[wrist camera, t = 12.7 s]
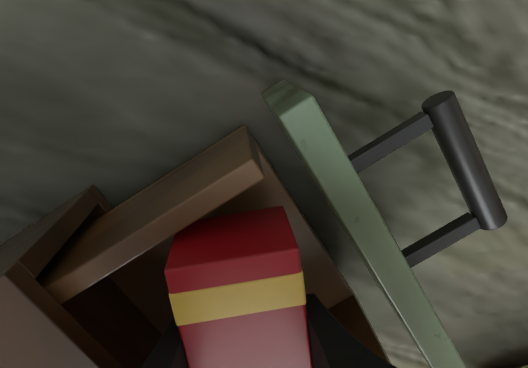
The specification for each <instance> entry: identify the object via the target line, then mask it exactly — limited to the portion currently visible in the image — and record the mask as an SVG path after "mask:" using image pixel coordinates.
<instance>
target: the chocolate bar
mask: <svg viewBox="0 0 528 368" xmlns="http://www.w3.org/2000/svg"><path fill="white" fill-rule="evenodd" d="M164 274H165V277H166V281H167V285H168V289H169V299H170V303H171V307H172V311H173V314H174V318H175V322H176V325H177V326H178V328H179V332H180V336H181V340H182V344H183V348H184V352H185V356H186V360H187V364H188V368H313V364H312V355H311V347H310V338H309V330H308V321H307V313H306V294H305V286H304V277H303V271H302V268H301V262H300V253H299V248H298V245H297V242H296V240H295V237H294V234H293V231H292V228H291V225H290V223H289V220H288V217H287V214H286V211H285V209H284V207H283V206H278V207H272V208H266V209H259V210H253V211H247V212H240V213H234V214H228V215H222V216H215V217H209V218H203V219H198V220H197V221H195V222H193V223H192V224H190V225H189V226H187V227H185V228H184V229H182V230H181V231H179V232H177V233H176V234H174V238H173V241H172V245H171V248H170V252H169V255H168V259H167V263H166V266H165V270H164Z"/></svg>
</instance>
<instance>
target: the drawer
mask: <svg viewBox="0 0 528 368" xmlns="http://www.w3.org/2000/svg"><path fill="white" fill-rule="evenodd" d="M262 97H263V99H264V100H265V102H266V103H267V105H268V107H269V108H270V110H271V112H272V113H273V115H274V116H275V118H276V120H277V121H278V123H279V125H280V126H281V128H282V130H283V131H284V133H285V134H286V136H287V138H288V139H289V141H290V143H291V144H292V146H293V147H294V149H295V151H296V152H297V154H298V156H299V157H300V159H301V160H302V162H303V164H304V165H305V167H306V169H307V170H308V172H309V174H310V175H311V177H312V178H313V180H314V182H315V183H316V185H317V187H318V188H319V190H320V191H321V193H322V195H323V196H324V198H325V200H326V201H327V203H328V205H329V206H330V208H331V209H332V211H333V213H334V214H335V216H336V218H337V219H338V221H339V222H340V224H341V226H342V227H343V229H344V231H345V232H346V234H347V235H348V237H349V239H350V240H351V242H352V244H353V245H354V247H355V249H356V250H357V252H358V253H359V255H360V257H361V258H362V260H363V262H364V263H365V265H366V266H367V268H368V270H369V271H370V273H371V275H372V276H373V278H374V280H375V281H376V283H377V284H378V286H379V288H380V289H381V291H382V292H383V294H384V296H385V297H386V299H387V300H388V302H389V303H390V305H391V307H392V308H393V310H394V311H395V313H396V314H397V316H398V318H399V319H400V321H401V322H402V324H403V325H404V327H405V328H406V330H407V332H408V333H409V335H410V336H411V338H412V339H413V341H414V343H415V344H416V346H417V347H418V349H419V350H420V352H421V354H422V355H423V357H424V358H425V360H426V361H427V363H428V365H429V366H430V368H465V364H464V362H463V360H462V358H461V357H460V355H459V353H458V351H457V349H456V348H455V346H454V344H453V342H452V341H451V339H450V337H449V335H448V333H447V332H446V330H445V328H444V326H443V325H442V323H441V321H440V319H439V318H438V316H437V314H436V312H435V310H434V309H433V307H432V305H431V303H430V302H429V300H428V298H427V296H426V295H425V293H424V291H423V289H422V287H421V286H420V284H419V282H418V280H417V279H416V277H415V275H414V273H413V271H412V270H411V267H413V266H415V265H416V264H418V263H420V262H422V261H423V260H425V259H427V258H429V257H430V256H432V255H434V254H436V253H437V252H439V251H441V250H443V249H445V248H446V247H448V246H450V245H452V244H453V243H455V242H457V241H459V240H460V239H462V238H464V237H466V236H467V235H469V234H471V233H473V232H474V231H476V230H478V229H483V230H494V229H497V228H499V227H501V226H503V225H504V224H505V223H506V221H507V214H506V212H505V210H504V207H503V205H502V203H501V200H500V198H499V196H498V193H497V191H496V189H495V186H494V184H493V182H492V179H491V177H490V175H489V172H488V170H487V168H486V165H485V163H484V161H483V158H482V156H481V154H480V151H479V149H478V147H477V144H476V142H475V140H474V137H473V135H472V133H471V130H470V128H469V126H468V123H467V121H466V119H465V116H464V114H463V112H462V109H461V107H460V105H459V102H458V100H457V98H456V96H455V93H454V92H453V91H443V92H440V93H437V94H435V95H433V96H431V97H429V98H428V99H426V100H425V101H424V102H423V103H422V106H421V107H422V110H423V112H419V113H418V114H416V115H414V116H413V117H411V118H410V119H408V120H406V121H405V122H403V123H401V124H400V125H398V126H396V127H395V128H393V129H392V130H390V131H388V132H387V133H385V134H383V135H382V136H380V137H378V138H377V139H375V140H374V141H372V142H370V143H369V144H367V145H365V146H364V147H362V148H360V149H359V150H357V151H356V152H354V153H352V154H351V155H349V156H347V155H346V153H345V151H344V149H343V147H342V146H341V144H340V142H339V140H338V139H337V137H336V135H335V133H334V132H333V130H332V128H331V126H330V124H329V123H328V121H327V119H326V117H325V116H324V114H323V112H322V110H321V109H320V107H319V105H318V103H317V101H316V100H315V98H314V96H312V95H311V94H309V93H307V92H305V91H303V90H301V89H300V88H298V87H296V86H294V85H292V84H290V83H288V82H287V81H285V80H282V81H280V82H278V83H277V84H275V85H274V86H272V87H271V88H269V89H268V90H266V91H265V92H263V93H262ZM429 129H432V131H433V133H434V135H435V138H436V140H437V142H438V144H439V146H440V148H441V150H442V153H443V155H444V157H445V159H446V161H447V163H448V165H449V168H450V170H451V172H452V174H453V176H454V178H455V180H456V183H457V185H458V187H459V189H460V191H461V193H462V195H463V198H464V200H465V202H466V204H467V206H468V208H469V210H470V212H471V214H470V213H469V212H468V213H466V214H464V215H462V216H460V217H459V218H457V219H455V220H453V221H452V222H450V223H448V224H446V225H445V226H443V227H441V228H439V229H438V230H436V231H434V232H433V233H431V234H429V235H427V236H426V237H424V238H422V239H420V240H419V241H417V242H415V243H413V244H412V245H410V246H408V247H406V248H405V249H403V250H400V248H399V247H398V245H397V243H396V241H395V240H394V238H393V236H392V234H391V233H390V231H389V229H388V227H387V225H386V224H385V222H384V220H383V218H382V217H381V215H380V213H379V211H378V209H377V208H376V206H375V204H374V202H373V201H372V199H371V197H370V195H369V194H368V192H367V190H366V188H365V186H364V185H363V183H362V181H361V179H360V178H359V176H358V174H357V173H358V172H360V171H362V170H363V169H365V168H367V167H368V166H370V165H372V164H373V163H375V162H377V161H378V160H380V159H381V158H383V157H385V156H386V155H388V154H390V153H391V152H393V151H395V150H396V149H398V148H400V147H401V146H403V145H405V144H406V143H408V142H410V141H411V140H413V139H415V138H416V137H418V136H419V135H421V134H423V133H424V132H426V131H428V130H429ZM278 206H283V207H284V209H285V211H286V214H287V217H288V220H289V223H290V225H291V228H292V231H293V234H294V237H295V240H296V242H297V245H298V248H299V253H300V262H301V268H302V271H303V277H304V286H305V294H312V293H314V294H315V295H317V297H318V298H319V300H320V301H321V302H322V303H323V305H324V306H325V307H326V308H327V309H328V311H329V312H330V313H331V314H332V315H333V316H334V317H335V318H336V319H337V320H338V321H339V322H340V323H341V324H342V325H343V326H344V327H345V328H346V329H347V330H348V331H349V332H350V333H351V334H352V335H353V336H354V337H355V338H356V339H358V340H359V341H360V342H361V343H362V344H363V345H365V346H366V347H367V348H368V349H370V350H371V351H372V352H374V353H375V354H376V355H378V356H379V357H381V358H382V359H384V360H385V361H386V362H388V363H390V364H391V362H390V360H389V359H388V357H387V355H386V353H385V351H384V349H383V347H382V345H381V343H380V341H379V339H378V337H377V336H376V334H375V332H374V330H373V328H372V326H371V324H370V322H369V320H368V318H367V316H366V314H365V312H364V311H363V309H362V307H361V305H360V303H359V301H358V299H357V297H356V295H355V294H354V292H353V291H352V289H351V288H350V286H349V285H348V283H347V281H346V280H345V278H344V277H343V275H342V274H341V272H340V271H339V269H338V268H337V266H336V264H335V263H334V261H333V260H332V258H331V257H330V255H329V254H328V252H327V251H326V249H325V247H324V246H323V244H322V243H321V241H320V240H319V238H318V237H317V235H316V234H315V232H314V230H313V229H312V227H311V226H310V224H309V223H308V221H307V220H306V218H305V217H304V215H303V213H302V212H301V210H300V209H299V207H298V206H297V204H296V203H295V201H294V200H293V198H292V196H291V195H290V193H289V192H288V190H287V189H286V187H285V186H284V184H283V183H282V181H281V179H280V178H279V176H278V175H277V173H276V172H275V170H274V169H273V167H272V166H271V164H270V162H269V161H268V159H267V158H266V156H265V155H264V153H263V152H262V150H261V149H260V147H259V145H258V144H257V142H256V141H255V139H254V138H253V136H252V135H251V133H250V132H249V130H248V128H247V127H246V126H245V125H243V126H241V127H240V128H238V129H237V130H235V131H234V132H232V133H231V134H229V135H227V136H226V137H224V138H223V139H221V140H220V141H218V142H216V143H215V144H213V145H212V146H210V147H209V148H207V149H206V150H204V151H202V152H201V153H199V154H198V155H196V156H195V157H193V158H191V159H190V160H188V161H187V162H185V163H184V164H182V165H181V166H179V167H177V168H176V169H174V170H173V171H171V172H170V173H168V174H167V175H165V176H163V177H162V178H160V179H159V180H157V181H156V182H154V183H152V184H151V185H149V186H148V187H146V188H145V189H143V190H142V191H140V192H138V193H137V194H135V195H134V196H132V197H131V198H129V199H127V200H126V201H124V202H123V203H121V204H120V205H118V206H117V207H115V208H113V209H112V210H110V211H109V212H107V213H106V214H104V215H103V216H101V217H99V218H98V219H96V220H95V221H93V222H92V223H90V224H88V225H87V226H85V227H84V228H82V229H81V230H79V231H78V232H76V233H74V234H73V235H71V237H70V238H69V239H68V240H67V241H66V243H65V244H64V245H63V246H62V247H61V249H60V250H59V251H58V252H57V253H56V255H55V256H54V257H53V258H52V259H51V260H50V262H49V263H48V264H47V265H46V266H45V268H44V269H43V270H42V271H41V272H40V274H39V275H38V276H37V277H36V278H35V280H36V281H37V282H38V283H39V284H40V285H41V286H42V287H43V288H44V289H45V290H46V291H47V292H48V293H49V294H50V295H51V296H52V297H53V298H54V299H55V300H56V301H57V302H58V303H59V304H60V305H61V306H62V307H63V308H64V309H65V310H66V311H67V312H68V313H69V314H70V315H71V316H72V317H73V318H74V319H75V320H76V321H77V322H78V323H79V324H80V325H81V326H82V327H83V328H84V329H85V330H86V331H87V332H88V333H89V334H90V335H91V336H92V337H93V338H94V339H95V340H96V341H97V342H98V343H99V344H100V345H101V346H102V347H103V348H104V349H105V350H106V351H107V352H108V353H109V354H110V355H111V356H112V357H113V358H114V359H115V360H116V361H117V362H118V363H119V364H120V365H121V366H122V367H123V368H141V366H142V365H143V364H144V362H145V361H146V359H147V358H148V357H149V355H150V354H151V352H152V351H153V349H154V348H155V346H156V345H157V343H158V342H159V340H160V338H161V337H162V335H163V334H164V332H165V330H166V329H167V327H168V326H169V324H170V322H171V321H172V319H173V318H174V314H173V311H172V307H171V303H170V299H169V289H168V285H167V281H166V277H165V274H164V270H165V266H166V263H167V259H168V255H169V252H170V248H171V245H172V241H173V238H174V234H176V233H177V232H179V231H181V230H182V229H184V228H185V227H187V226H189V225H190V224H192V223H193V222H195V221H197V220H198V219H203V218H209V217H215V216H222V215H228V214H234V213H240V212H247V211H253V210H259V209H266V208H272V207H278ZM391 365H392V364H391Z"/></svg>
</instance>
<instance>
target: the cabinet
mask: <svg viewBox="0 0 528 368" xmlns="http://www.w3.org/2000/svg"><path fill="white" fill-rule="evenodd" d="M112 209H113V207H112V206H111V205H110V204H109V203H108V201H107V200H106V199H105V198H104V197H103V196H102V194H101V193H100V192H99V191H98V190H97V188H96V187H95V186H94V185H91V186H90V187H88V188H87V189H85V190H84V191H82V192H81V193H79V194H78V195H76V196H75V197H73V198H72V199H70V200H68V201H67V202H65V203H64V204H62V205H61V206H59V207H58V208H56V209H55V210H53V211H52V212H50V213H49V214H47V215H45V216H44V217H42V218H41V219H39V220H38V221H36V222H35V223H33V224H32V225H30V226H29V227H27V228H26V229H24V230H22V231H21V232H19V233H18V234H16V235H15V236H13V237H12V238H10V239H9V240H7V241H6V242H4V243H3V244H1V245H0V368H123V367H122V366H121V365H120V364H119V363H118V362H117V361H116V360H115V359H114V358H113V357H112V356H111V355H110V354H109V353H108V352H107V351H106V350H105V349H104V348H103V347H102V346H101V345H100V344H99V343H98V342H97V341H96V340H95V339H94V338H93V337H92V336H91V335H90V334H89V333H88V332H87V331H86V330H85V329H84V328H83V327H82V326H81V325H80V324H79V323H78V322H77V321H76V320H75V319H74V318H73V317H72V316H71V315H70V314H69V313H68V312H67V311H66V310H65V309H64V308H63V307H62V306H61V305H60V304H59V303H58V302H57V301H56V300H55V299H54V298H53V297H52V296H51V295H50V294H49V293H48V292H47V291H46V290H45V289H44V288H43V287H42V286H41V285H40V284H39V283H38V282H37V281H36V280H35V278H36V277H37V276H38V275H39V274H40V272H41V271H42V270H43V269H44V268H45V266H46V265H47V264H48V263H49V262H50V260H51V259H52V258H53V257H54V256H55V255H56V253H57V252H58V251H59V250H60V249H61V247H62V246H63V245H64V244H65V243H66V241H67V240H68V239H69V238H70V237H71V235H73V234H74V233H76V232H78V231H79V230H81V229H82V228H84V227H85V226H87V225H88V224H90V223H92V222H93V221H95V220H96V219H98V218H99V217H101V216H103V215H104V214H106V213H107V212H109V211H110V210H112Z"/></svg>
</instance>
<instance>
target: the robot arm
mask: <svg viewBox="0 0 528 368" xmlns="http://www.w3.org/2000/svg"><path fill="white" fill-rule="evenodd" d="M306 313H307V321H308V330H309V338H310V347H311V355H312V364H313V368H396V367H395V366H393V365H391V364H390V363H388V362H386V361H385V360H384V359H382V358H381V357H379V356H378V355H376V354H375V353H374V352H372V351H371V350H370V349H368V348H367V347H366V346H365V345H363V344H362V343H361V342H360V341H359V340H358V339H356V338H355V337H354V336H353V335H352V334H351V333H350V332H349V331H348V330H347V329H346V328H345V327H344V326H343V325H342V324H341V323H340V322H339V321H338V320H337V319H336V318H335V317H334V316H333V315H332V314H331V313H330V312H329V311H328V309H327V308H326V307H325V306H324V305H323V303H322V302H321V301H320V300H319V298H318V297H317V295H315V294H314V293H312V294H306ZM141 368H188V364H187V360H186V356H185V352H184V348H183V344H182V340H181V336H180V332H179V328H178V326H177V325H176V322H175V318H173V319H172V321H171V322H170V324H169V326H168V327H167V329H166V330H165V332H164V334H163V335H162V337H161V338H160V340H159V342H158V343H157V345H156V346H155V348H154V349H153V351H152V352H151V354H150V355H149V357H148V358H147V359H146V361H145V362H144V364H143V365H142V366H141Z"/></svg>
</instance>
